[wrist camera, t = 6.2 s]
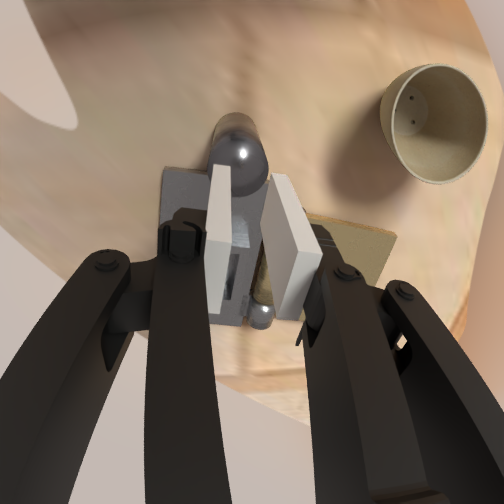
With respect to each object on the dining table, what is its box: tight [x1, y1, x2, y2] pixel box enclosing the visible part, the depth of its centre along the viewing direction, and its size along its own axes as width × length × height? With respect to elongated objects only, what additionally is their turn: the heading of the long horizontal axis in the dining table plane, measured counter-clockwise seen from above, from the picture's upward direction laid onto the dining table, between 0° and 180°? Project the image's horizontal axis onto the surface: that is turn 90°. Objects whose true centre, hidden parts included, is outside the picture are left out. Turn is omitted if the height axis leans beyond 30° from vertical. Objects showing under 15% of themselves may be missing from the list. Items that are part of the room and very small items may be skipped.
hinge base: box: [160, 166, 306, 330], centre depth 33 cm, size 18×13×4 cm
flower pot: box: [380, 63, 488, 184], centre depth 23 cm, size 10×10×7 cm
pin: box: [207, 113, 268, 197], centre depth 23 cm, size 4×4×10 cm
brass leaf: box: [253, 213, 397, 321], centre depth 34 cm, size 13×13×3 cm
